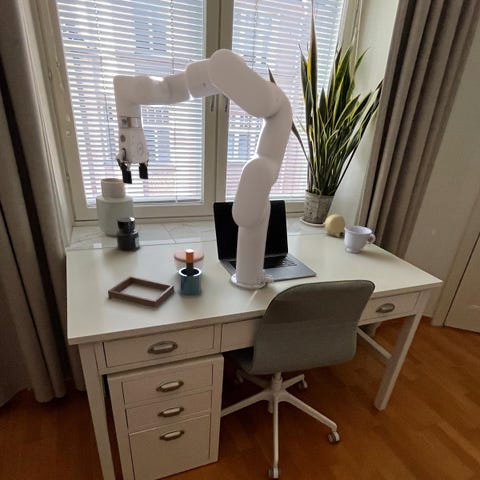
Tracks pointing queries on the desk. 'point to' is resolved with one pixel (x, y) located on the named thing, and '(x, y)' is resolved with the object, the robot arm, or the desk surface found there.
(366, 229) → the teacup
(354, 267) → the desk surface
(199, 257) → the trinket box
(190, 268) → the marker
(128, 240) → the ink bottle
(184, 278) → the pen cup
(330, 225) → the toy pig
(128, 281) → the desk tray
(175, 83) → the robot arm
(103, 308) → the desk surface
